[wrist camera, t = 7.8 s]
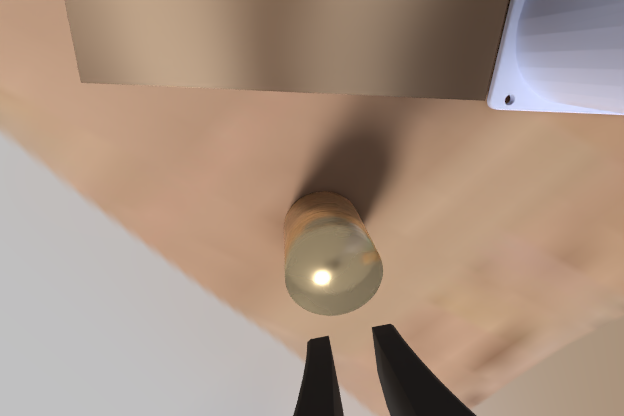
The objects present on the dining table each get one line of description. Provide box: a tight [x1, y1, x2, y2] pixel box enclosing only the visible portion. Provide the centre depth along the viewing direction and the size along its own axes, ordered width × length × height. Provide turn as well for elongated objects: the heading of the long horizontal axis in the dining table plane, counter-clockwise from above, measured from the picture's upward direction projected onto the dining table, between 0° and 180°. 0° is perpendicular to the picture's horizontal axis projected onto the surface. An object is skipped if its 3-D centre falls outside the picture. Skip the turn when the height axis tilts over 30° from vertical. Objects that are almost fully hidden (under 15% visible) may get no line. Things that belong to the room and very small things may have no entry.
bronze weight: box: [284, 191, 383, 316], centre depth 18 cm, size 4×4×5 cm
